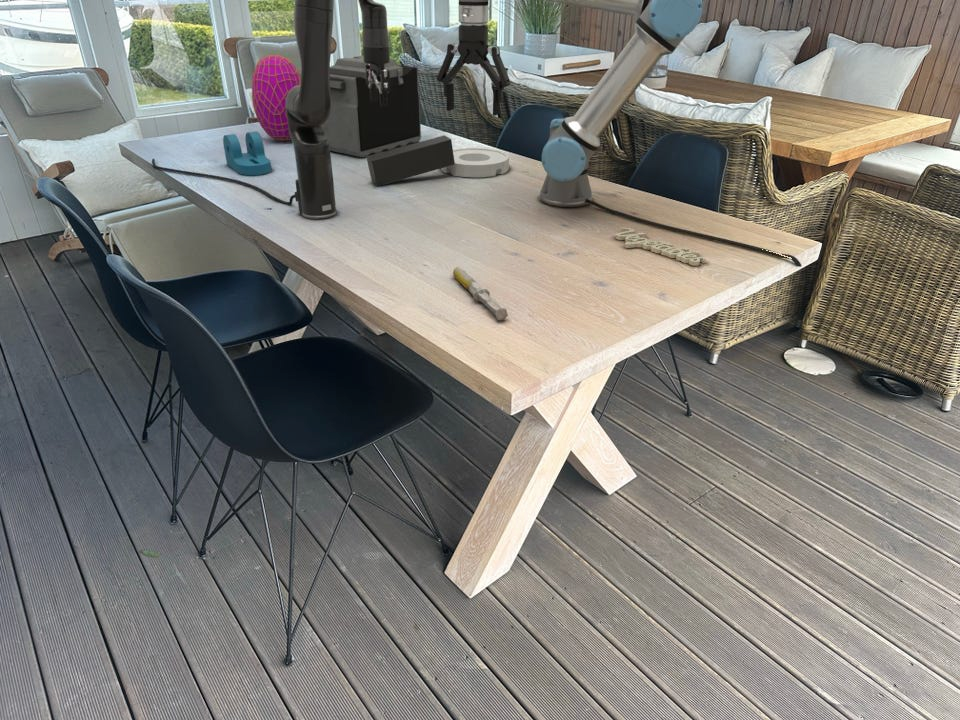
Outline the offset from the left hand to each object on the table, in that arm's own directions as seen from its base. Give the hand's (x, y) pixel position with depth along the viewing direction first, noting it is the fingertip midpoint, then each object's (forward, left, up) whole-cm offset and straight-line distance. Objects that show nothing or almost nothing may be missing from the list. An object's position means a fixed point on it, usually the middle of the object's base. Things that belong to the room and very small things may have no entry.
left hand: (379, 104), depth 204 cm
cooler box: (-30, +39, -24) cm, 55 cm away
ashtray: (+18, +29, -24) cm, 41 cm away
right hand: (+35, -9, +2) cm, 36 cm away
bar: (+6, +8, -22) cm, 24 cm away
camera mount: (-48, -6, -24) cm, 54 cm away
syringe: (+63, -63, -24) cm, 92 cm away
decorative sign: (+90, -18, -24) cm, 95 cm away
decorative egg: (-65, +32, -24) cm, 76 cm away
